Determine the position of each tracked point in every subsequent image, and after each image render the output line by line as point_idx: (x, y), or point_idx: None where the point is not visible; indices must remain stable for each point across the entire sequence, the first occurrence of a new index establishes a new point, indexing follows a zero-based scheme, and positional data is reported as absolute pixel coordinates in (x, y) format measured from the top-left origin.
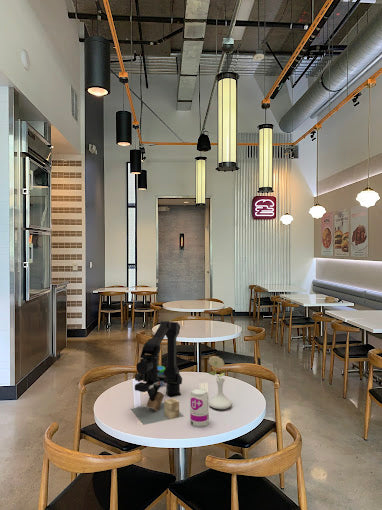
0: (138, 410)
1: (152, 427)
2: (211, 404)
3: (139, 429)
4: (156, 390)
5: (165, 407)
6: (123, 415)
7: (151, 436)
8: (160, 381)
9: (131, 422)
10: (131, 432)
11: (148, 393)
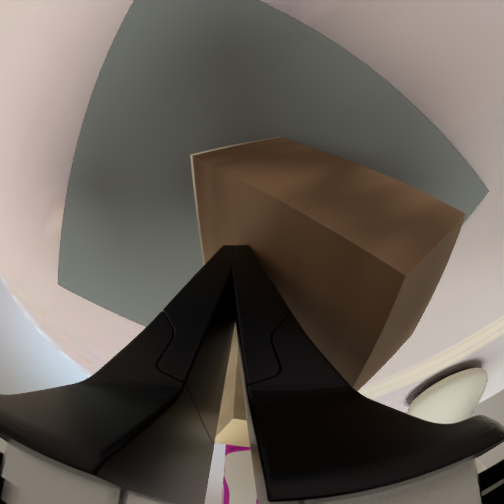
0: (168, 57)
1: (94, 319)
2: (426, 401)
3: (36, 283)
4: (251, 457)
5: (232, 374)
6: (42, 37)
7: (61, 346)
8: (497, 482)
9: (25, 189)
10: (3, 272)
11: (150, 334)
